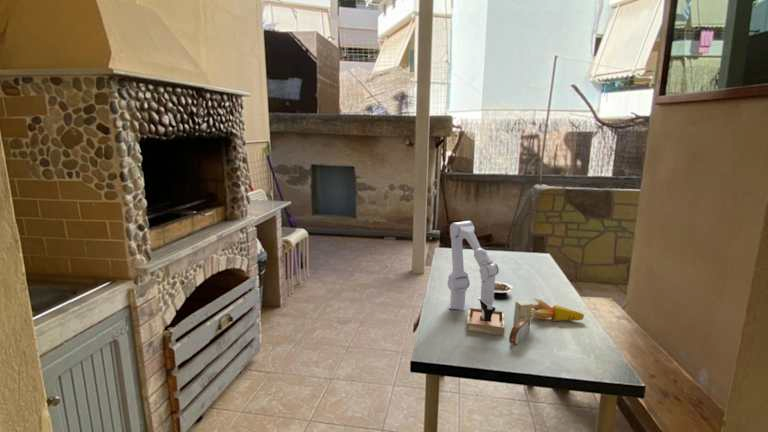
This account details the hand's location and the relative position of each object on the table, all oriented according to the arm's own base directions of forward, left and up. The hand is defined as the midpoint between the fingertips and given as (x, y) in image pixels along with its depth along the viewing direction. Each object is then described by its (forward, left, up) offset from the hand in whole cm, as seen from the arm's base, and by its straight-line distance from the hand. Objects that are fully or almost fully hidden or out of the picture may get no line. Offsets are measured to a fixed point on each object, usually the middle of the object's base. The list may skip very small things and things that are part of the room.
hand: (485, 316), depth 188 cm
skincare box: (-2, +16, -4) cm, 17 cm away
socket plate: (0, 0, -4) cm, 4 cm away
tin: (+10, +14, -4) cm, 18 cm away
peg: (0, 0, -3) cm, 3 cm away
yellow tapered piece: (-13, +31, -4) cm, 34 cm away
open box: (0, 0, -4) cm, 4 cm away
